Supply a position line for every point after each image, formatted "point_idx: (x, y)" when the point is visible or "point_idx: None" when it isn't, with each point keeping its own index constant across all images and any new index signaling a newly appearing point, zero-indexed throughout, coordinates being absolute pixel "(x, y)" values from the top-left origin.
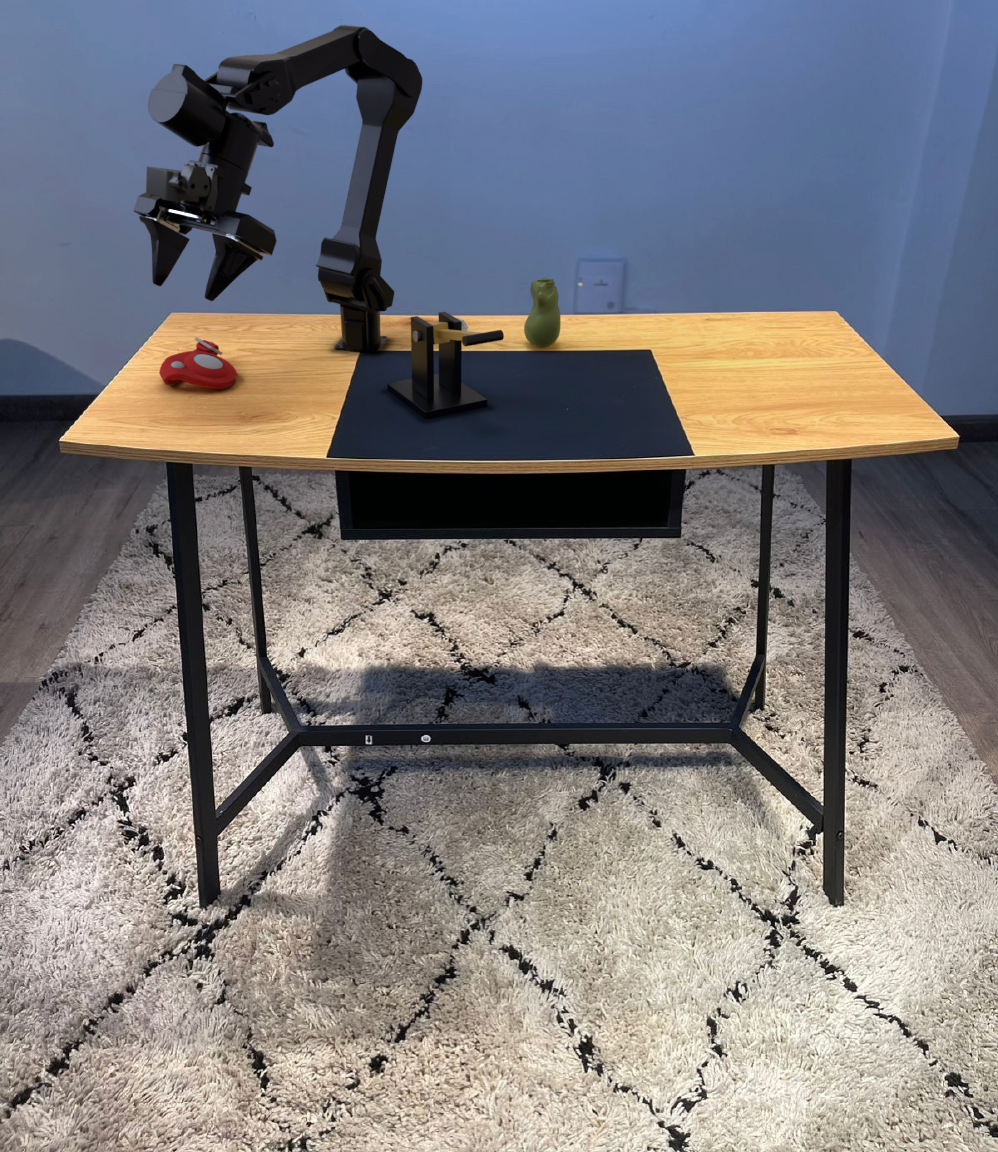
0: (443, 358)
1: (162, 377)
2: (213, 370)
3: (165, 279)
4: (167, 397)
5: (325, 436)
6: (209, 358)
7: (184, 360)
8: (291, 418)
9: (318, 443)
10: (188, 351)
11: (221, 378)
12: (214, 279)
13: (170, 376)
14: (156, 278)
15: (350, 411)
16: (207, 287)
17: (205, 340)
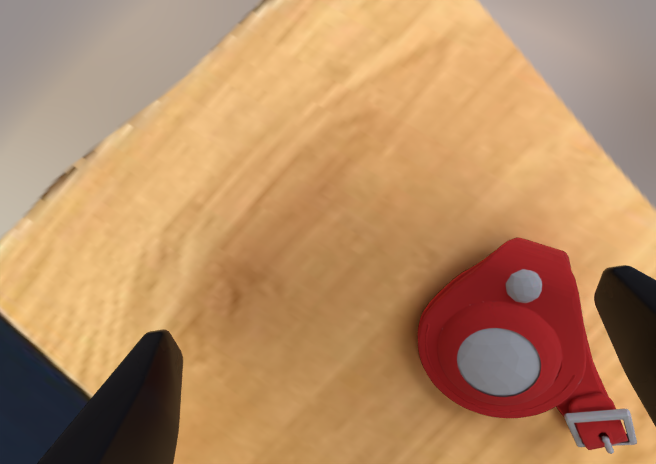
0: None
1: (531, 241)
2: (454, 346)
3: (614, 348)
4: (470, 216)
5: (53, 342)
6: (503, 372)
7: (539, 316)
8: None
9: (33, 311)
10: (583, 357)
11: (434, 349)
12: (63, 437)
13: (500, 247)
14: (623, 291)
15: None
16: (131, 373)
17: (619, 435)
